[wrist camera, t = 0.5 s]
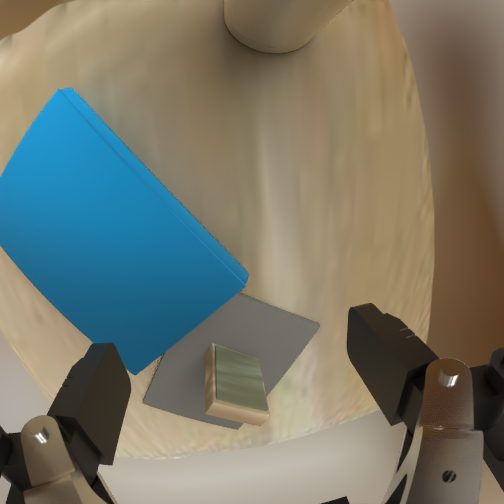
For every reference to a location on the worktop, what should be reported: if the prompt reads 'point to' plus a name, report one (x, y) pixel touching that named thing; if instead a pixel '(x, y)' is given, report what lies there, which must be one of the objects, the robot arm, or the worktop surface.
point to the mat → (235, 338)
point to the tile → (234, 386)
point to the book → (108, 236)
